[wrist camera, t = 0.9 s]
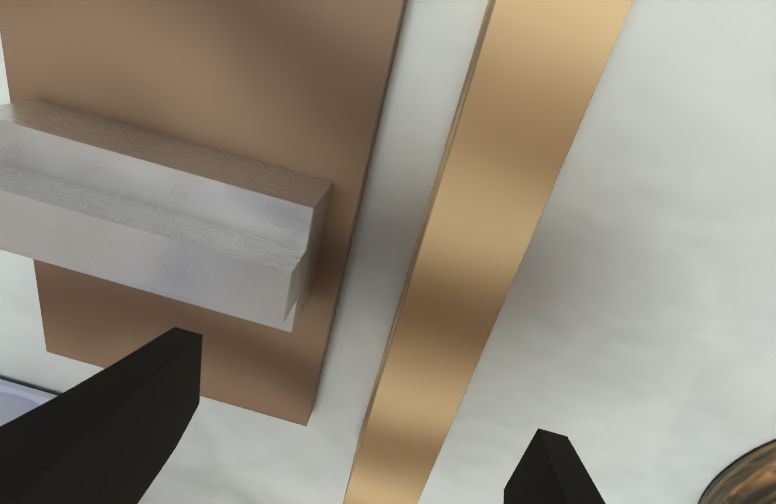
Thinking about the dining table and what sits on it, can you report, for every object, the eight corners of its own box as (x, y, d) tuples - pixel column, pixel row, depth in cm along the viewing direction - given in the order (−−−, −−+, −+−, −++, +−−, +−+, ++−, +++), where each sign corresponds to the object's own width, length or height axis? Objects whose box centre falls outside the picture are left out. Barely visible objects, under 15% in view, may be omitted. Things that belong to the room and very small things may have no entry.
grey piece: (310, 294, 19) (276, 360, 16) (50, 220, 20) (-41, 269, 16) (333, 181, 17) (298, 228, 13) (35, 97, 17) (-76, 122, 14)
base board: (312, 410, 24) (306, 426, 23) (62, 338, 24) (46, 351, 23) (419, -54, 14) (416, -57, 13) (-1, -169, 14) (-31, -180, 13)
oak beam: (416, 449, 25) (408, 523, 21) (359, 432, 25) (342, 505, 21) (608, -43, 14) (657, -56, 10) (508, -69, 14) (524, -91, 11)
